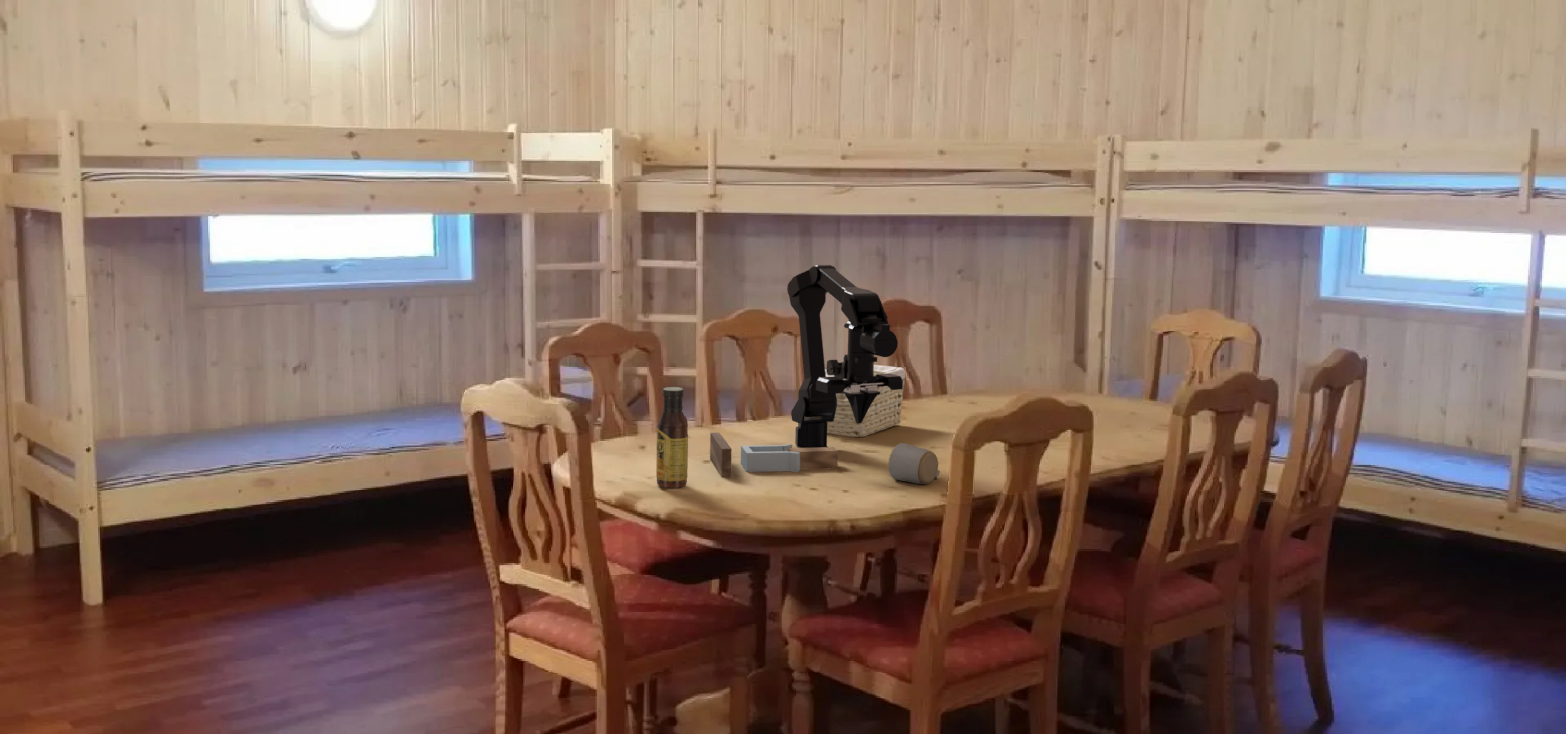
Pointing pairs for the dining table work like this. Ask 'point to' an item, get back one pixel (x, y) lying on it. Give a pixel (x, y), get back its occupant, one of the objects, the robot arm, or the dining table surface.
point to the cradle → (769, 458)
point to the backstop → (720, 454)
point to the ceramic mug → (913, 464)
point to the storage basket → (879, 413)
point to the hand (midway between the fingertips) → (858, 423)
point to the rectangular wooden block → (817, 457)
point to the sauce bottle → (672, 441)
